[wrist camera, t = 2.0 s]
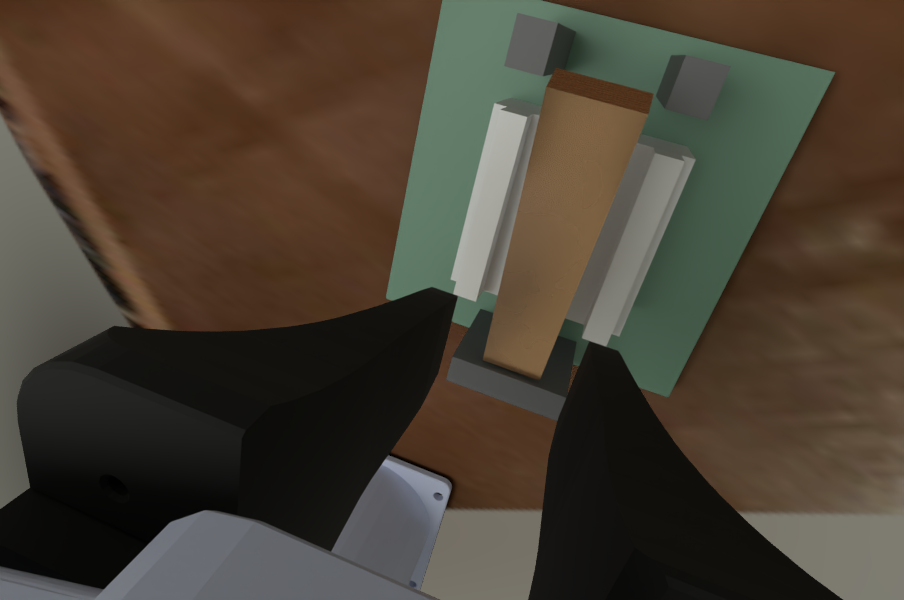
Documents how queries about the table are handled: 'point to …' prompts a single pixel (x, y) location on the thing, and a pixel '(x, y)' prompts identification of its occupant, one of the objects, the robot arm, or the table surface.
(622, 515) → the robot arm
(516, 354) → the strap
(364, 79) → the table surface
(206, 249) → the table surface
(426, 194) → the board
